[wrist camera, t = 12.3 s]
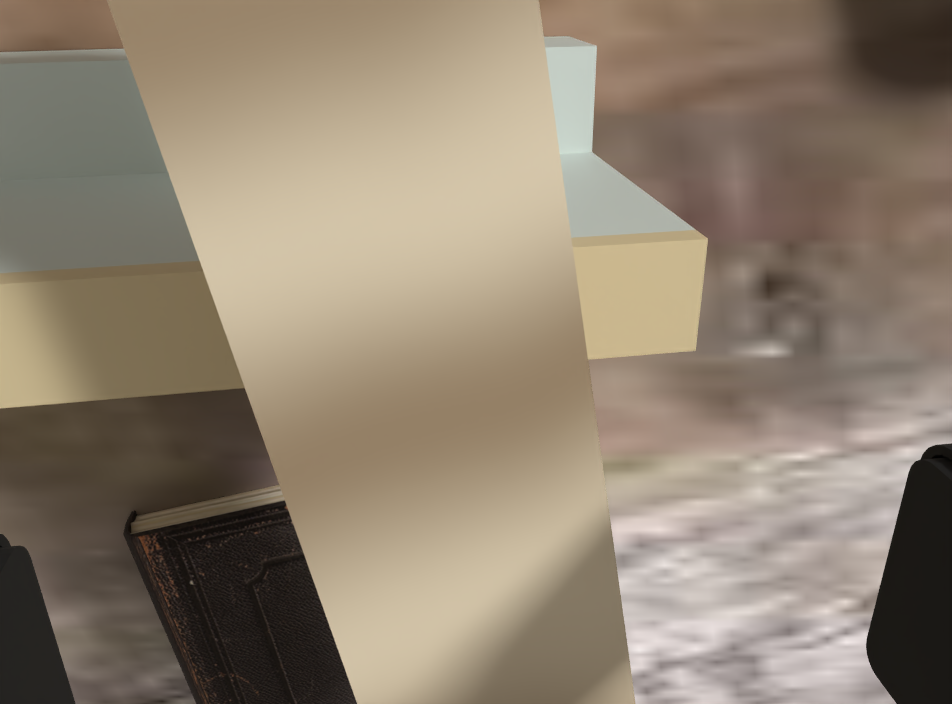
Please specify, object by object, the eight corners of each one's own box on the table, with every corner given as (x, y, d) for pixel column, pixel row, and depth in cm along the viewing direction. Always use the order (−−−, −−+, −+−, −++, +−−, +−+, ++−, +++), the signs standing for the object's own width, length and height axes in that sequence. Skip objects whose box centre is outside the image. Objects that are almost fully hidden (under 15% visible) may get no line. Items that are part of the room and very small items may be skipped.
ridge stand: (567, 36, 25) (724, 89, 15) (559, 287, 28) (682, 464, 18) (-7, 52, 23) (-265, 126, 13) (61, 322, 26) (-101, 545, 16)
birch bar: (593, 710, 21) (663, 910, 17) (426, 754, 21) (451, 970, 17) (371, -584, 11) (404, -980, 6) (22, -526, 10) (-211, -896, 6)
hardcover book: (564, 409, 31) (580, 441, 29) (612, 804, 41) (627, 849, 39) (131, 502, 30) (117, 542, 28) (291, 886, 40) (289, 936, 38)
